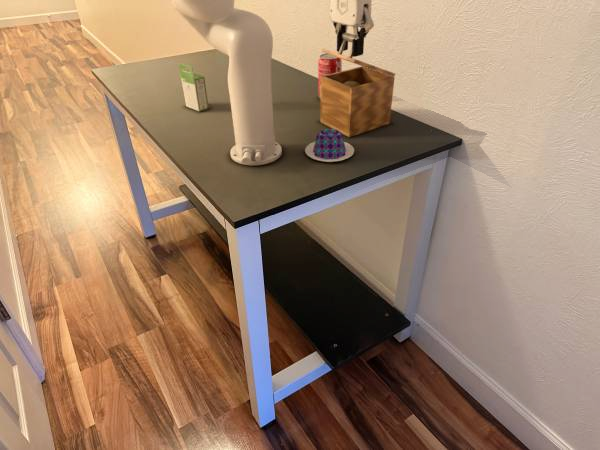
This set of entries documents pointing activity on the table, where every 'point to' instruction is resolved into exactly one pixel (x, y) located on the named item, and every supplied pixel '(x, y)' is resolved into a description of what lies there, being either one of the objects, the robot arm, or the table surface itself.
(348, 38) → the bin lid
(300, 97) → the table surface
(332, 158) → the pudding
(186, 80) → the ink box
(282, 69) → the table surface
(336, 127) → the wooden bin
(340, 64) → the soda can
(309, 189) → the table surface
